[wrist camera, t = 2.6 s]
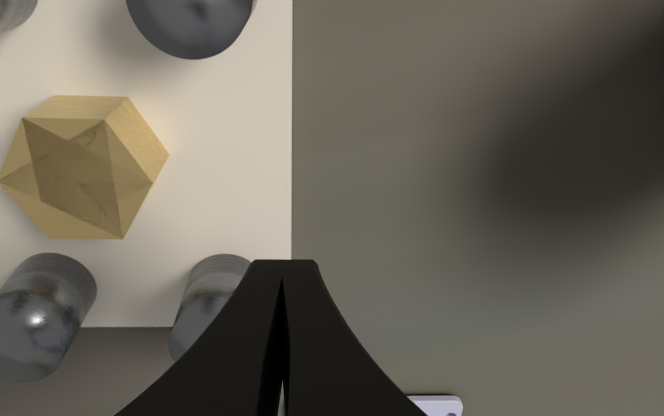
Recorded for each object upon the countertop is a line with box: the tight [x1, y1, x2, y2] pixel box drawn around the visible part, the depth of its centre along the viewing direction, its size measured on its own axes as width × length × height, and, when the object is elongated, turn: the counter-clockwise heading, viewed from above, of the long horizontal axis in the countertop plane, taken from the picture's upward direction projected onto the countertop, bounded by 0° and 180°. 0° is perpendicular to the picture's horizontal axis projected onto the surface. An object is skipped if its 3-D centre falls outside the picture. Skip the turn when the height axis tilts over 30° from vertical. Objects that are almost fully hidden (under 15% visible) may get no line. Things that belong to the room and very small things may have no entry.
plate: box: [0, 0, 292, 327], centre depth 19 cm, size 15×16×1 cm
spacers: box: [0, 0, 258, 382], centre depth 17 cm, size 15×14×4 cm
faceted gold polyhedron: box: [0, 95, 170, 239], centre depth 18 cm, size 4×5×2 cm
